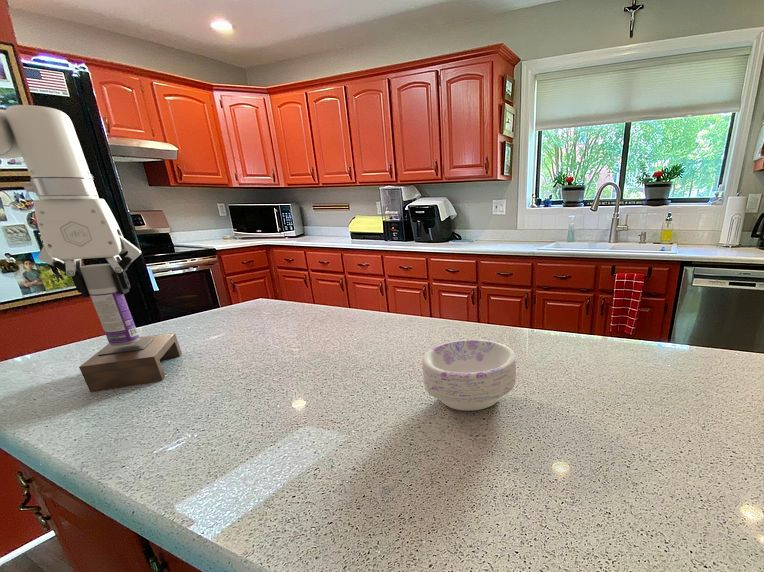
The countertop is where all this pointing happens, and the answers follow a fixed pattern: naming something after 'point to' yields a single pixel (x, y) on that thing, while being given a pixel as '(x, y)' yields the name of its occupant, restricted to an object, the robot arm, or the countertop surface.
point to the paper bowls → (469, 373)
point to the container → (110, 305)
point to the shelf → (130, 362)
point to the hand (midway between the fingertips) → (106, 293)
